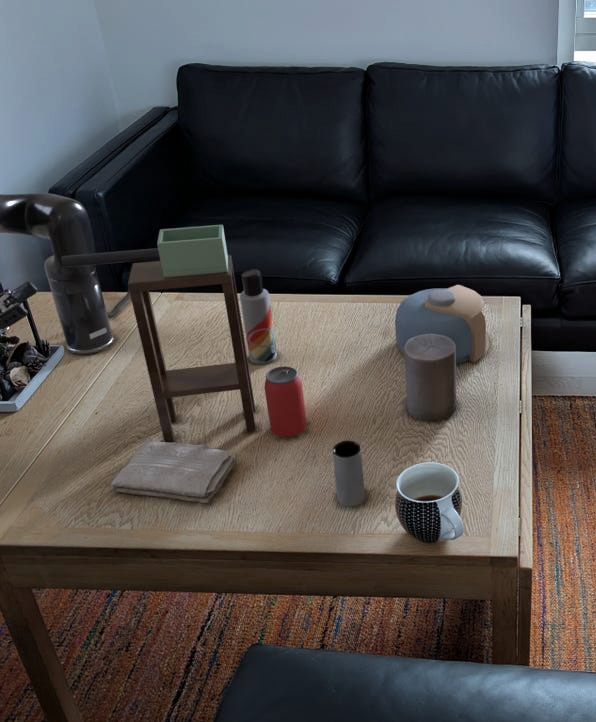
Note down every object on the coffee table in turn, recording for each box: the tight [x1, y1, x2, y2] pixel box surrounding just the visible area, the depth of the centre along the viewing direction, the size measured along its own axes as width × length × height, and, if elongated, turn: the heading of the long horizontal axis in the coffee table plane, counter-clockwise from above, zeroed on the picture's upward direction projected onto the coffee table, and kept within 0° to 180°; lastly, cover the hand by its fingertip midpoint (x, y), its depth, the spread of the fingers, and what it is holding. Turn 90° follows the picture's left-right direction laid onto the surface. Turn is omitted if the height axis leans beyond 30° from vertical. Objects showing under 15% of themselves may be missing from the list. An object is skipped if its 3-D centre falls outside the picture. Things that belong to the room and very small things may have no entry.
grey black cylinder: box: [332, 439, 366, 508], centre depth 135 cm, size 4×4×10 cm
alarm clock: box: [394, 284, 490, 364], centre depth 178 cm, size 19×20×12 cm
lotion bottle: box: [239, 268, 278, 365], centre depth 170 cm, size 6×6×20 cm
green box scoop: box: [62, 224, 229, 278], centre depth 135 cm, size 6×25×6 cm, turn 104°
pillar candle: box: [403, 334, 457, 422], centre depth 157 cm, size 10×10×15 cm
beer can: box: [264, 365, 308, 439], centre depth 151 cm, size 7×7×12 cm
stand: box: [127, 254, 257, 443], centre depth 146 cm, size 8×16×32 cm, turn 104°
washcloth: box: [110, 440, 237, 504], centre depth 141 cm, size 12×18×3 cm, turn 82°
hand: (28, 297), depth 134 cm, fingers open, 8 cm apart
